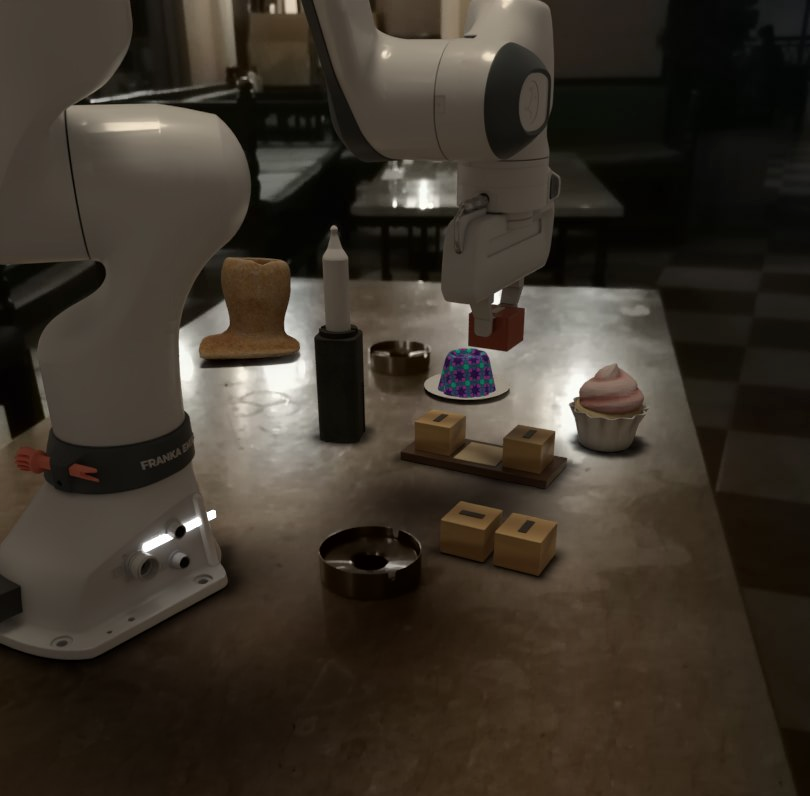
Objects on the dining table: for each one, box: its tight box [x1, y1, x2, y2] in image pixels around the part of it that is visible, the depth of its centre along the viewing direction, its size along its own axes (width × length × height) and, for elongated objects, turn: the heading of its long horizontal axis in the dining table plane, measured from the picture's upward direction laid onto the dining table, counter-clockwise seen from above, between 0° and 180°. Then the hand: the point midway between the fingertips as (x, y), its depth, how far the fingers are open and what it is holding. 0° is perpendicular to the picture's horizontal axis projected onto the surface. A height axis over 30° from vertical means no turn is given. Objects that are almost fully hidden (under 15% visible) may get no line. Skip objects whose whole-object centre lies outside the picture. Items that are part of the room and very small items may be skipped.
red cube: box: [467, 303, 526, 353], centre depth 95 cm, size 4×4×4 cm
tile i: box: [439, 500, 504, 563], centre depth 87 cm, size 4×4×4 cm
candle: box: [313, 225, 366, 444], centre depth 107 cm, size 5×5×25 cm
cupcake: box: [568, 362, 650, 453], centre depth 108 cm, size 9×9×10 cm
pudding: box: [423, 347, 511, 401], centre depth 126 cm, size 12×12×5 cm
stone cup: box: [198, 256, 301, 360], centre depth 139 cm, size 15×12×15 cm
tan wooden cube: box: [493, 512, 559, 577], centre depth 84 cm, size 4×4×4 cm
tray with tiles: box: [400, 409, 568, 490], centre depth 104 cm, size 7×18×5 cm, turn 62°
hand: (496, 327), depth 95 cm, fingers closed on red cube, 4 cm apart
